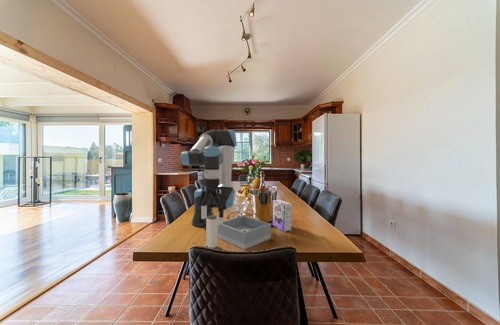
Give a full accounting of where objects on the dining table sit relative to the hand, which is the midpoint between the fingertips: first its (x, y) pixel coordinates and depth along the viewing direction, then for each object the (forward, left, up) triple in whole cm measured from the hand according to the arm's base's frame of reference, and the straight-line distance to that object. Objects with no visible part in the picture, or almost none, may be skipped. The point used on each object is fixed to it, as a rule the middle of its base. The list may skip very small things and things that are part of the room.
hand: (211, 221), depth 106 cm
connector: (0, 0, -13) cm, 13 cm away
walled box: (+3, +19, -13) cm, 23 cm away
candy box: (+8, +47, -13) cm, 50 cm away
